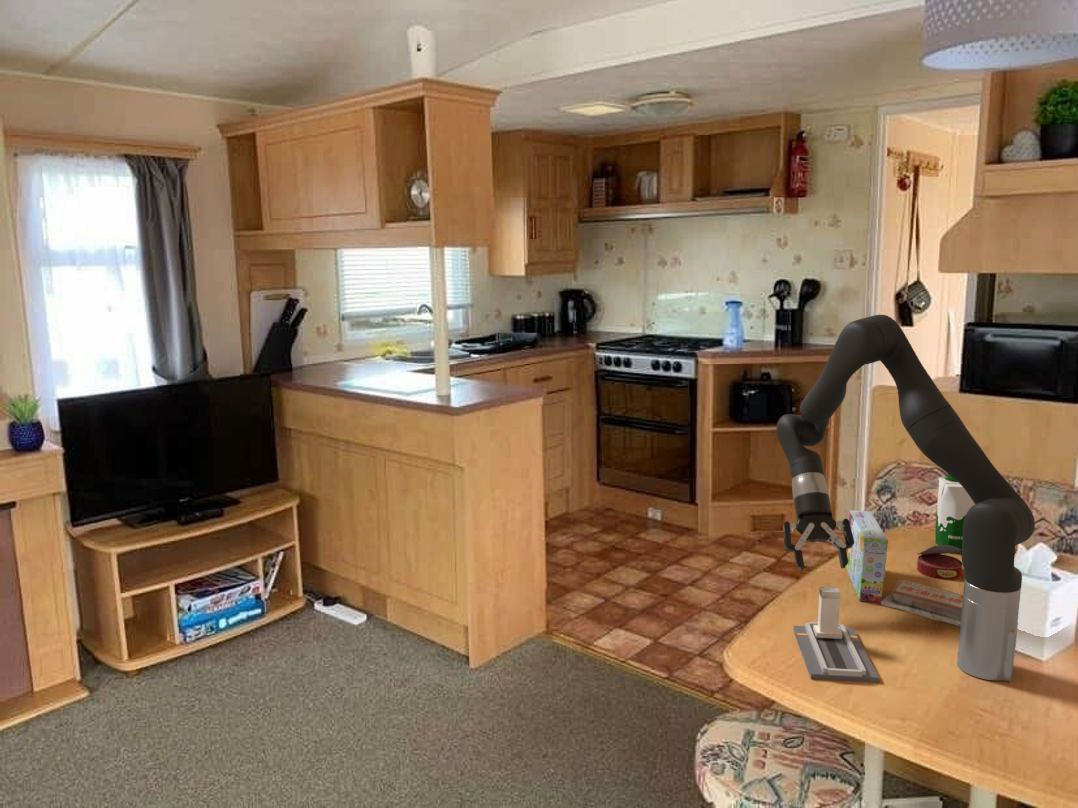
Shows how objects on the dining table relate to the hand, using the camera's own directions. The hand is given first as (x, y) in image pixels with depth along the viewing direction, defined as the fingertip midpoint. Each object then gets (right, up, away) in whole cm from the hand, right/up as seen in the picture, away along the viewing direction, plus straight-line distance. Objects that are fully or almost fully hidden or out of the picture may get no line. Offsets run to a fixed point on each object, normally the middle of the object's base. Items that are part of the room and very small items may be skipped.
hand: (822, 568), depth 177 cm
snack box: (+16, -8, +19) cm, 26 cm away
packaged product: (+25, -11, +5) cm, 28 cm away
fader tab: (-2, -12, -9) cm, 15 cm away
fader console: (-3, -14, -14) cm, 20 cm away
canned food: (+37, -6, +26) cm, 46 cm away
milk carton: (+48, -3, +41) cm, 63 cm away
